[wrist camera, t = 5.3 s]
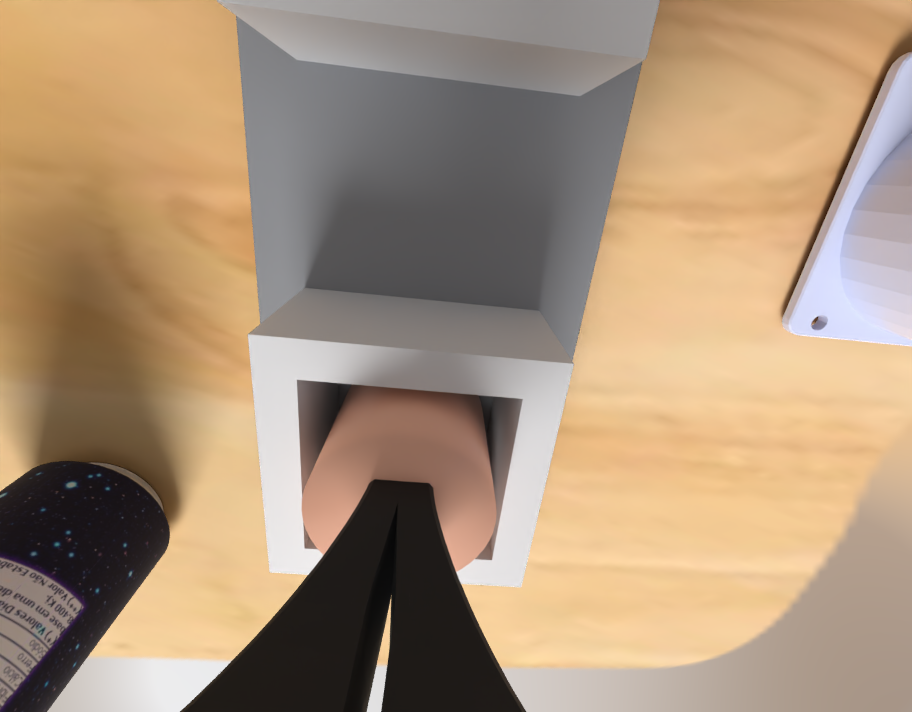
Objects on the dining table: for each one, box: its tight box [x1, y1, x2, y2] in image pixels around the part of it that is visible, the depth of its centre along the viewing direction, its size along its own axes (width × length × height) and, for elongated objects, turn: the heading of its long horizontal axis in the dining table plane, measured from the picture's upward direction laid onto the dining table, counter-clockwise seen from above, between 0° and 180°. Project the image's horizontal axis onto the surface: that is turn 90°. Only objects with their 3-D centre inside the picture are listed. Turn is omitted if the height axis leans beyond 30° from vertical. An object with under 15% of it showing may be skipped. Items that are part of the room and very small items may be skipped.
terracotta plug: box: [301, 384, 497, 572], centre depth 12 cm, size 4×4×4 cm
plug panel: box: [217, 0, 660, 587], centre depth 11 cm, size 10×23×5 cm, turn 174°
